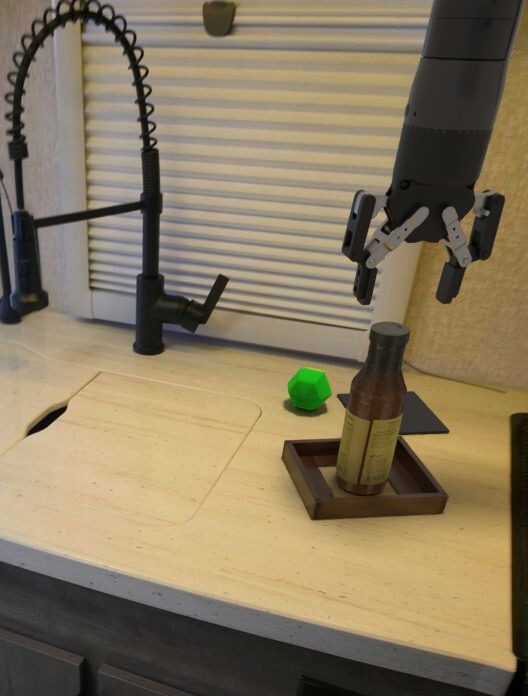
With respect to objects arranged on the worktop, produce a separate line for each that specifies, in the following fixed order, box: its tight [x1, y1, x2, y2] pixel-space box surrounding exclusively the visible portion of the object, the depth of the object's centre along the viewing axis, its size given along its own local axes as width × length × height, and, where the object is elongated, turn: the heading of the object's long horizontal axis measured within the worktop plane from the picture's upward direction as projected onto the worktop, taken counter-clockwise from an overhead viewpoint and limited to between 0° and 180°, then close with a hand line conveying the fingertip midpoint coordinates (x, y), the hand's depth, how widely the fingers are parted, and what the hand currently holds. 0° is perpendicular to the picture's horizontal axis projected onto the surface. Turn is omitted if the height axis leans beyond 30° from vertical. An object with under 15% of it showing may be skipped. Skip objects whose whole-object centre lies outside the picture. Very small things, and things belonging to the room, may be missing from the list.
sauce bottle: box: [335, 321, 411, 496], centre depth 76 cm, size 6×6×20 cm
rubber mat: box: [336, 390, 451, 436], centre depth 96 cm, size 12×12×1 cm
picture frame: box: [281, 435, 450, 521], centre depth 81 cm, size 16×14×2 cm
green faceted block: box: [286, 366, 333, 411], centre depth 97 cm, size 7×6×9 cm
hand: (403, 302), depth 68 cm, fingers open, 8 cm apart
